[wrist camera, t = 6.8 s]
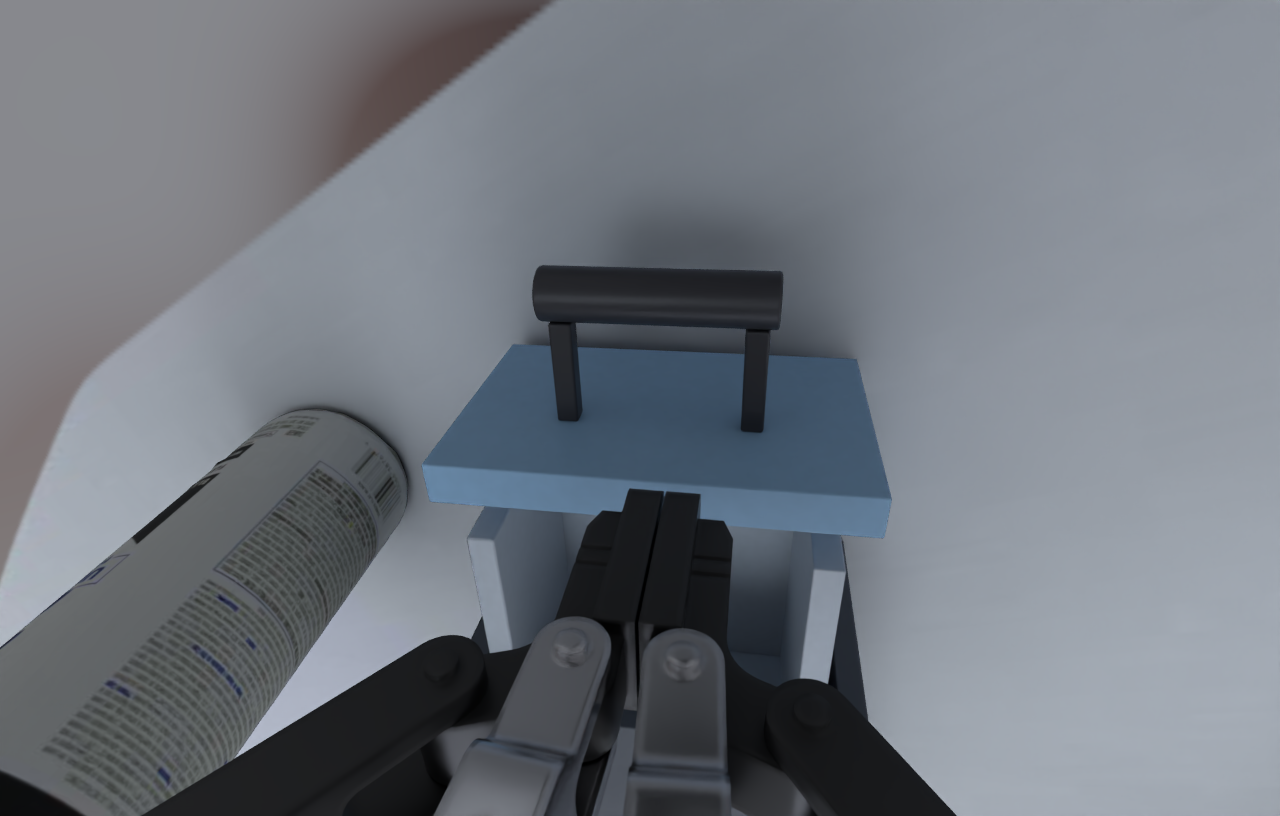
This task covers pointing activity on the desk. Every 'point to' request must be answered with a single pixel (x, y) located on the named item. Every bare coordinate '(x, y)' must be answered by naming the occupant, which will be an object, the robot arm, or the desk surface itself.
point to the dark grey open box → (841, 677)
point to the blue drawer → (668, 457)
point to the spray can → (193, 622)
